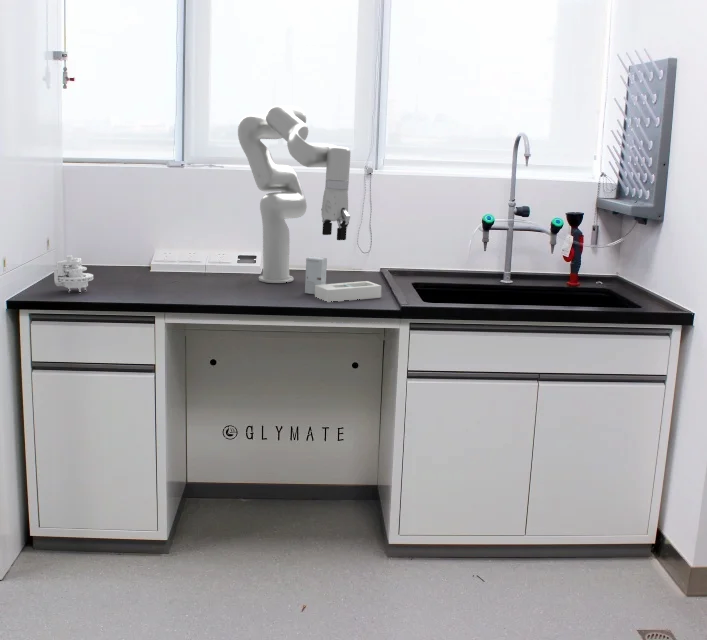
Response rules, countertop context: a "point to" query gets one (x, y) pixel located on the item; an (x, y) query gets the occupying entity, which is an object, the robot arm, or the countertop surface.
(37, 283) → the countertop surface
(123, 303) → the countertop surface
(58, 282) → the mechanical part
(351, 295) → the holder
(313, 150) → the robot arm
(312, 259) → the skincare box
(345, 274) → the countertop surface
